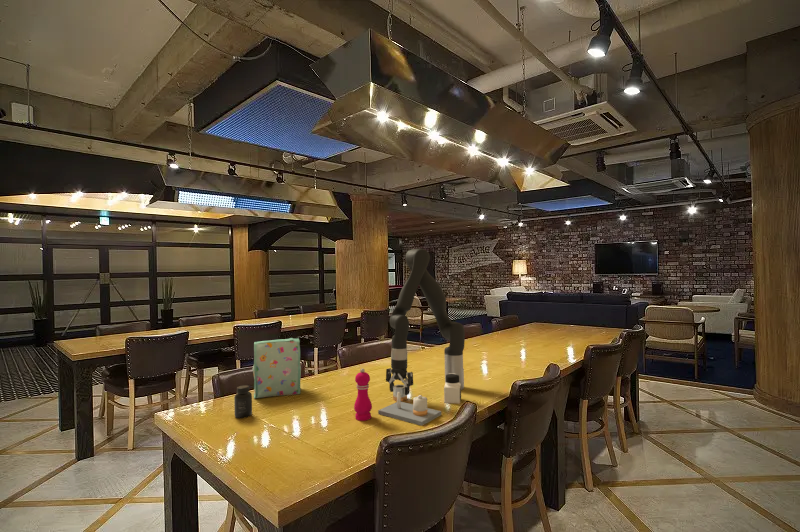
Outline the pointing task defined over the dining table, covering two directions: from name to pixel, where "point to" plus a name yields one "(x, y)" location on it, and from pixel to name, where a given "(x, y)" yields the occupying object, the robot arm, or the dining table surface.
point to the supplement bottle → (243, 402)
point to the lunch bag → (276, 368)
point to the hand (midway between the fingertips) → (399, 393)
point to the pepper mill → (362, 397)
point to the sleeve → (402, 391)
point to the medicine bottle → (452, 389)
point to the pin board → (411, 411)
